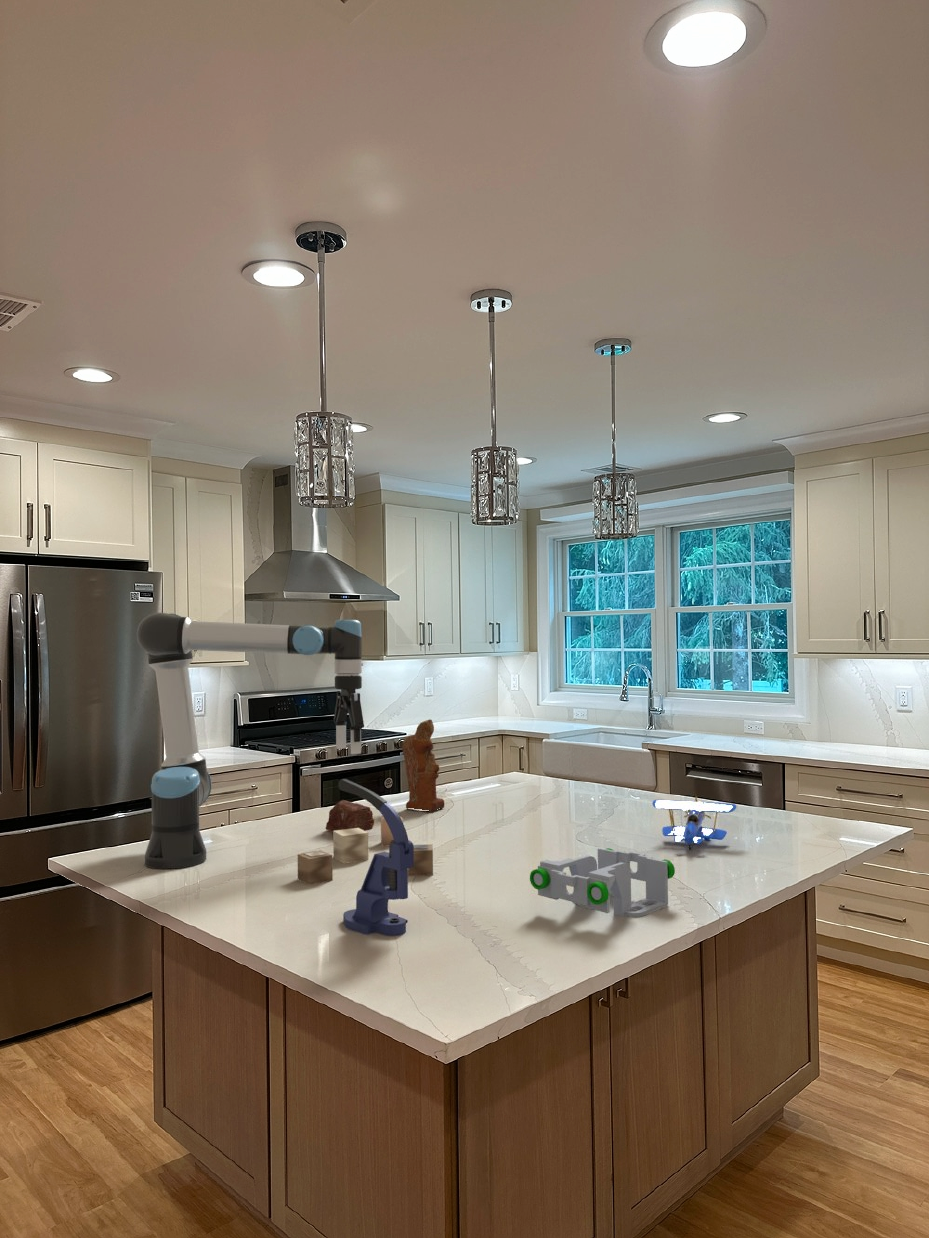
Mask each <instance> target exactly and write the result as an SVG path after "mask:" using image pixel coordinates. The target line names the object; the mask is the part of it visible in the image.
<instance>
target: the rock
mask: <svg viewBox="0 0 929 1238" xmlns="http://www.w3.org/2000/svg"><path fill="white" fill-rule="evenodd" d="M375 820H376V819H375V818H374V813H373V810H371V807H370V806H367V805H366V806H365V805H363V804H360V803H357V802H353V801H349V800H344V799H341V800H340V801H338V802H337V803H336V804H335V805H334V806H333V807H332V808H331V809H330V810H329V812H328V821H327V822H326V825H325V829H324V830H327V831H329V832H331V833H333V831H336V830H344V829H353V828H360V829H362V830H364V831H366V832H368V831H371V830H372V829H373V827H374V825H375Z"/></svg>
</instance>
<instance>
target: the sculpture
mask: <svg viewBox="0 0 929 1238" xmlns="http://www.w3.org/2000/svg"><path fill="white" fill-rule="evenodd" d="M434 731H435V725H434V722H433V720H432V719H426V720H424V721H422V722H420V723H419V724H418V726H417V728H416V730H415V733H414V734H410V735H408V736H406V738H405V739H403V741H402V742H401V750H402V755H403V758H404V765H405V770H406V771H405V772H406V776H407V787H408V792H409V794H408V795H409V798H408V799H409V800H407V802H406V804H405V809H406V808H414V809H422V810H429V811H433V812H435V811H434V810H436V811H438V810H440V809H439V808H442V809H444V808H445V800H444V799H443V798H439V797H437V784H436V783H437V782H436V781H437V779H438V778H439V775H440V774H439V771H440V766H439V764H437V762H436V758H435V757H436V756H435V754H434V753H433V752H432V751H433V750H434V744H433V741H432V740H431V738H432V735H433V733H434ZM437 809H438V810H437Z"/></svg>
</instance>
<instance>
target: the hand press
mask: <svg viewBox="0 0 929 1238" xmlns="http://www.w3.org/2000/svg"><path fill="white" fill-rule="evenodd" d="M338 788H339V790H340V791H343V792H345V793H349V794H351V795H352V794H353V795H355V796H358V797H360V798H361V799H363V800H365V801H367V802H368V803H370V805H372V806H373V807H374V808H375V809H376V810H377V811H379V813H380V814H381V815H382V817H384V819H385V820H386V822H387V824H388V826H389V829H390V831H391V833H392V836H393V838H394V840H391V841H390V843H389V846H388V848H389V849H388V851H389V852H388V851H382V852H377V853H374V854H373V857H372V859H371V862H370V865H369V867H368V870H367V872H366V875H365V877H364V879H363V883H362V885H361V888H360V889H359V890H358V891H357V893H356V895H355V896H356V898H355V899H356V900H355V902H356V903H355V904H356V905H355V906H356V907H355V908H353V909H350V910H346V911H344V912H343V913H342V915H343V917H342V919H343V925H344V927H345V928H346V929H348V930H350V931H353V932H357V933H360V934H362V935H367V936H368V935H371V934H375V933H376V934H379V935H383V936H386V937H398V936H403V935H404V934H406V933H407V924H408V922H409V921H408V919H407V918H405V917H401V916H399V914H397V913H393V912H390V911H389V910H388V909H389V901H390V900H393V901H394V900H395V901H396V900H406V899H409V881H408V880H409V879H408V877H409V876H408V868H411V867H414V846H413V845H414V843H413V841H411V840H409V838H408V834H407V829H406V827H405V825H404V822H402V820H401V818H400V817H401V816H400V815H399V813H398V812H397V811H396V810H395V808H394V807H393V806H392V805H390V804H389V802H388V801H387V800H386V799H384V798H383V797H381V796H380V795H379V794H378V793H376V792H374V791H372V790H371V789H368V788H366V787H364V786H362V785H360V784H357V783H356V782H354V781H352V780H349V779H348V778H343V779H342V778H341V779H339V780H338Z"/></svg>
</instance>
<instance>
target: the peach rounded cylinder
mask: <svg viewBox="0 0 929 1238" xmlns="http://www.w3.org/2000/svg"><path fill="white" fill-rule="evenodd" d="M400 818H401V820H402V822H403V816H400ZM403 823H404V822H403ZM391 840H394V838H393V836H392V833H391V831H390V829H389V826H388V824H387V822H386V820H385V819H384V817H383V816H382V817H380V844H381V845H382V844H383V846H386V845H389V843H390V841H391Z"/></svg>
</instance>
